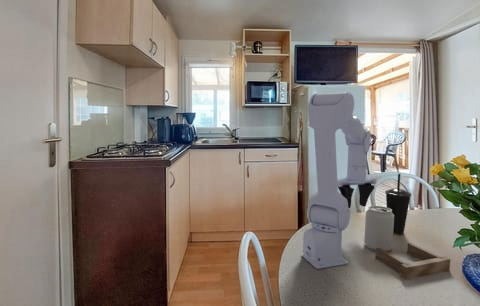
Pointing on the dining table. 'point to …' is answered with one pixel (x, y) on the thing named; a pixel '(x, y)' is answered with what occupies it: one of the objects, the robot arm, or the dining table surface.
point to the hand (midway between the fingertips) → (355, 206)
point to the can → (379, 228)
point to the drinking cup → (398, 206)
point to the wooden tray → (415, 269)
